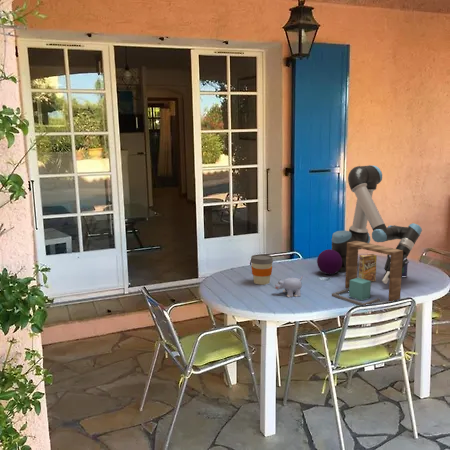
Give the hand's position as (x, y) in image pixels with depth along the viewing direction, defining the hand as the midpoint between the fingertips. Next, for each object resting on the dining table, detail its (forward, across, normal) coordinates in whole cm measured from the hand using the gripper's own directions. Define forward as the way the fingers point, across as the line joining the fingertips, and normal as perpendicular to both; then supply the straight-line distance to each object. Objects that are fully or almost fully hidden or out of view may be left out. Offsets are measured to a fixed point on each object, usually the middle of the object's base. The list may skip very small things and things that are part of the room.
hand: (384, 282), depth 268 cm
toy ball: (+4, -38, +2) cm, 38 cm away
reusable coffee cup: (+35, -51, -28) cm, 67 cm away
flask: (-15, -8, +21) cm, 27 cm away
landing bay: (+20, 0, -14) cm, 24 cm away
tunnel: (+11, 0, -5) cm, 12 cm away
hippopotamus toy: (+36, -26, -30) cm, 53 cm away
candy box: (0, -15, +6) cm, 16 cm away
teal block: (+18, 0, -12) cm, 22 cm away
